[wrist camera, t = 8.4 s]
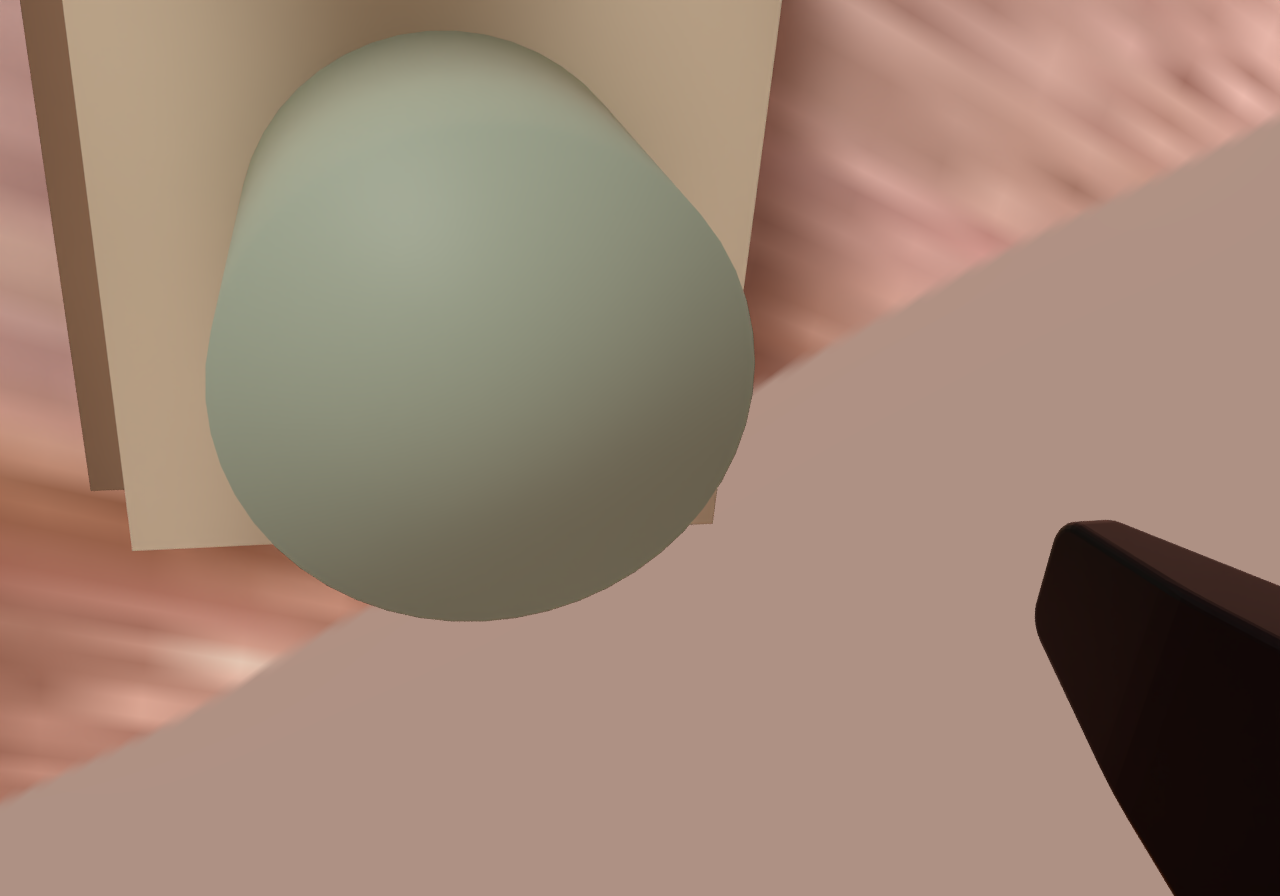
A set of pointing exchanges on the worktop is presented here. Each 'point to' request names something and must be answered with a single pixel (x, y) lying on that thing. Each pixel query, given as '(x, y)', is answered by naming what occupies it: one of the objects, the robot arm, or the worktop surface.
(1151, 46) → the worktop surface
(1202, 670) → the robot arm
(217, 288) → the top block
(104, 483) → the base slab
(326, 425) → the green rounded lump
